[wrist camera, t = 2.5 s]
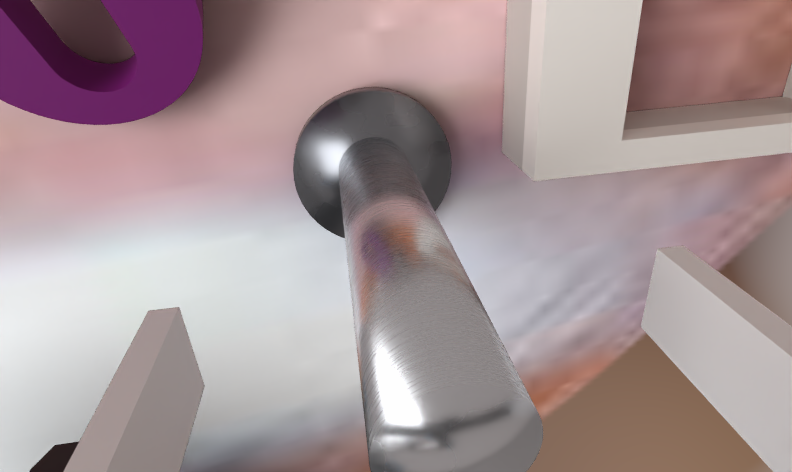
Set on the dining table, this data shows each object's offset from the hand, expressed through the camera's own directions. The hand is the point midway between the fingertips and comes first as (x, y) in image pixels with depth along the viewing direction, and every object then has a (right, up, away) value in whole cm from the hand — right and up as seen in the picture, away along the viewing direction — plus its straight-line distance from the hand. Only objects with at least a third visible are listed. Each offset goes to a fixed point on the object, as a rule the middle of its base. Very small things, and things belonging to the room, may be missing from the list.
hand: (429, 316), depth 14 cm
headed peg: (-2, +6, +12) cm, 14 cm away
